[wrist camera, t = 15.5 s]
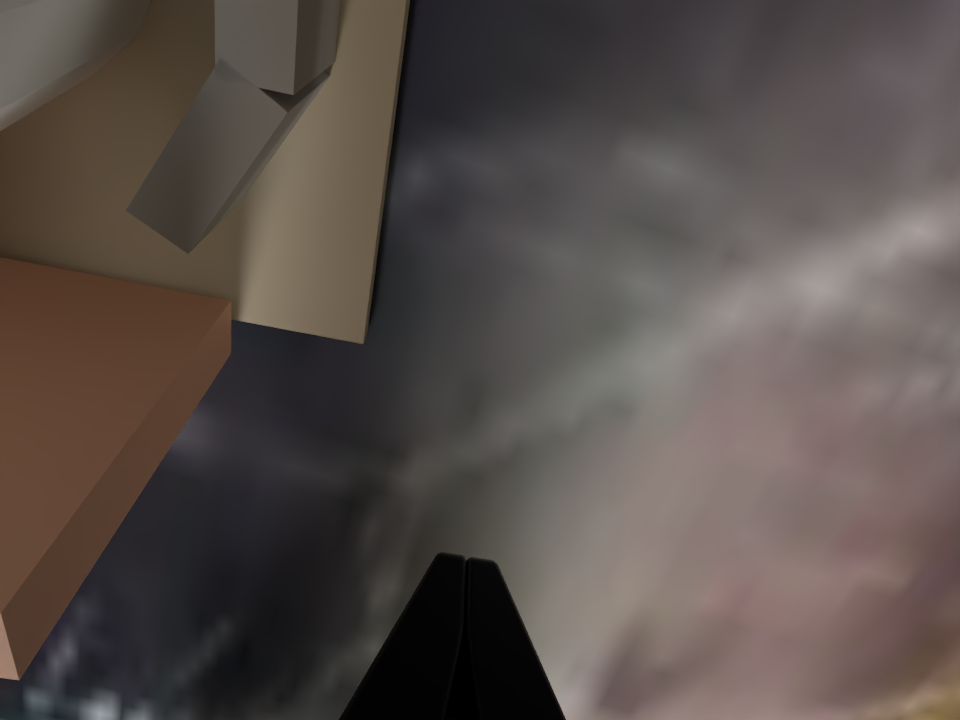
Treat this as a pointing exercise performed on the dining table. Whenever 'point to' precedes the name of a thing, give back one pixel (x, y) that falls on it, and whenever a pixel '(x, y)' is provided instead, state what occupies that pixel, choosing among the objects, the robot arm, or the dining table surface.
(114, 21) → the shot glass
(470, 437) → the dining table surface
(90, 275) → the block
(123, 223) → the dock
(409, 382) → the dining table surface
